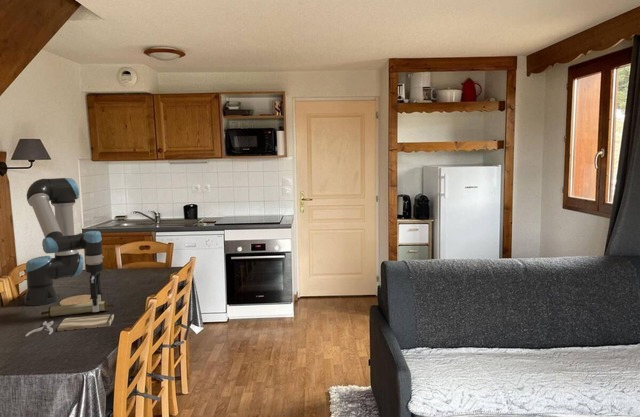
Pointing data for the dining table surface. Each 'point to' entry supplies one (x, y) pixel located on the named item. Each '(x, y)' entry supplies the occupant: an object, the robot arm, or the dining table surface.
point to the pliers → (42, 328)
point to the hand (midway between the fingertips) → (96, 309)
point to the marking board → (86, 322)
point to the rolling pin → (75, 308)
